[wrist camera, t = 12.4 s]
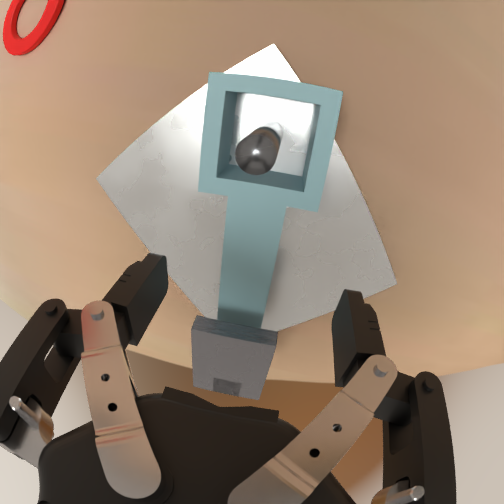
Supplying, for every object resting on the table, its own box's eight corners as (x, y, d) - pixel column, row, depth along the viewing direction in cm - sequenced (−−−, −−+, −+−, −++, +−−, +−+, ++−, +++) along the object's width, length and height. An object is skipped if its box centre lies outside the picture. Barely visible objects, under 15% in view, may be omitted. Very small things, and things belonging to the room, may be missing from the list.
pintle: (275, 116, 15) (262, 127, 9) (287, 137, 15) (284, 162, 9) (253, 128, 15) (226, 148, 9) (266, 148, 16) (249, 182, 10)
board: (274, 46, 13) (273, 43, 12) (394, 277, 20) (397, 283, 19) (101, 175, 19) (96, 178, 18) (233, 339, 25) (231, 345, 24)
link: (224, 76, 14) (209, 71, 11) (333, 93, 13) (343, 91, 11) (205, 309, 23) (194, 335, 20) (280, 324, 22) (277, 352, 20)
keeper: (267, 339, 25) (258, 399, 19) (212, 328, 25) (193, 386, 19) (282, 281, 21) (276, 346, 16) (216, 268, 21) (191, 328, 16)
